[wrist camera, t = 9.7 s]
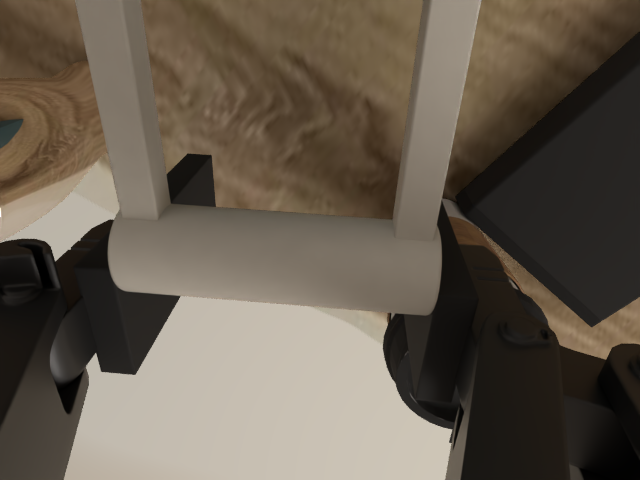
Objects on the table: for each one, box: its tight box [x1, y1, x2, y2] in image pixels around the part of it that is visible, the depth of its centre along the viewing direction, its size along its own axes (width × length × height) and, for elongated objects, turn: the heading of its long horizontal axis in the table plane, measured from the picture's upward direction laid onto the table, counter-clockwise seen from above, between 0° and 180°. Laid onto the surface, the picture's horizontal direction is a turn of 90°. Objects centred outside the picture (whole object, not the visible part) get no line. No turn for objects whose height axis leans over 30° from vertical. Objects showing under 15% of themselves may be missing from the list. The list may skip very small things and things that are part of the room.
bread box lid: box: [75, 0, 481, 316], centre depth 13 cm, size 17×16×8 cm
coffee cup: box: [383, 198, 549, 429], centre depth 28 cm, size 8×8×15 cm
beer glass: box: [0, 60, 108, 242], centre depth 25 cm, size 7×7×15 cm
